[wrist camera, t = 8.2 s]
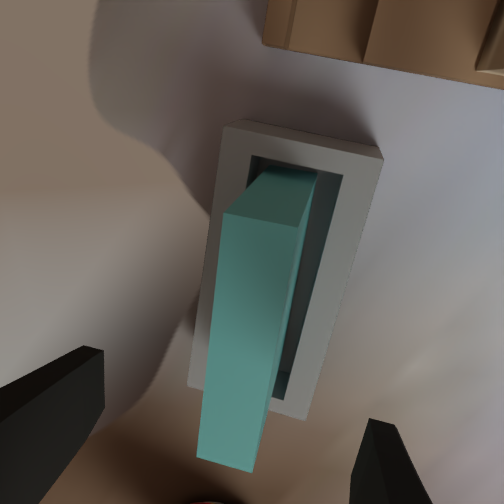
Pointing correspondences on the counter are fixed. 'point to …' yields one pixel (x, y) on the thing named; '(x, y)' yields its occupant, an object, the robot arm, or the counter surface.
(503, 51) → the offcut
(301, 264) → the stand
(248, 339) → the board
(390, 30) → the rack
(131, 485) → the counter surface
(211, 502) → the soda can
